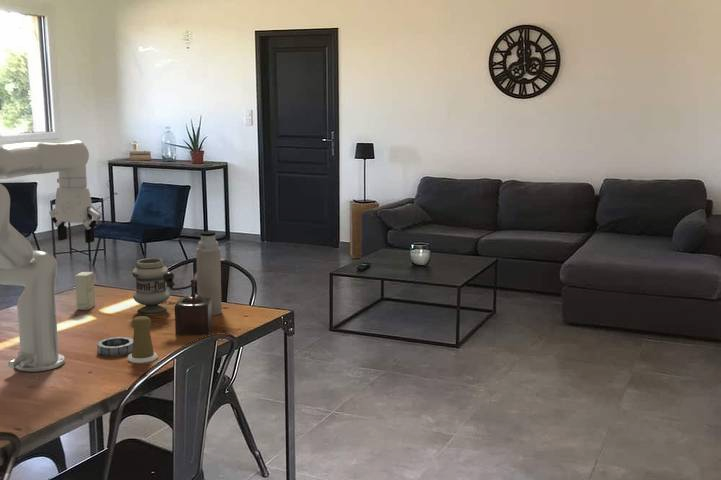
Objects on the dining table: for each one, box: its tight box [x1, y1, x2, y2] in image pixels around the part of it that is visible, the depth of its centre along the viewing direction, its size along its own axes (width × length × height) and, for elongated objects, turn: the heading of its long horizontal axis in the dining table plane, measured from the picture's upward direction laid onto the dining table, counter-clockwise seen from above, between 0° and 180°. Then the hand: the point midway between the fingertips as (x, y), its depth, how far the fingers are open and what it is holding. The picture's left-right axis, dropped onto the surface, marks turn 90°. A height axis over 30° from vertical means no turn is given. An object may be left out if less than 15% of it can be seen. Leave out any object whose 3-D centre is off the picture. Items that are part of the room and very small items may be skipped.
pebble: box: [127, 351, 158, 364], centre depth 212 cm, size 8×8×1 cm
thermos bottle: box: [195, 231, 223, 316], centre depth 256 cm, size 8×8×28 cm
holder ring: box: [96, 336, 133, 357], centre depth 218 cm, size 10×10×2 cm
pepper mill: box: [162, 271, 213, 336], centre depth 238 cm, size 16×11×18 cm
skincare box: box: [74, 271, 96, 311], centre depth 262 cm, size 6×4×12 cm
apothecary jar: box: [131, 257, 171, 316], centre depth 258 cm, size 12×12×18 cm
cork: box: [131, 315, 154, 358], centre depth 212 cm, size 6×6×11 cm
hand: (76, 240), depth 223 cm, fingers open, 9 cm apart
